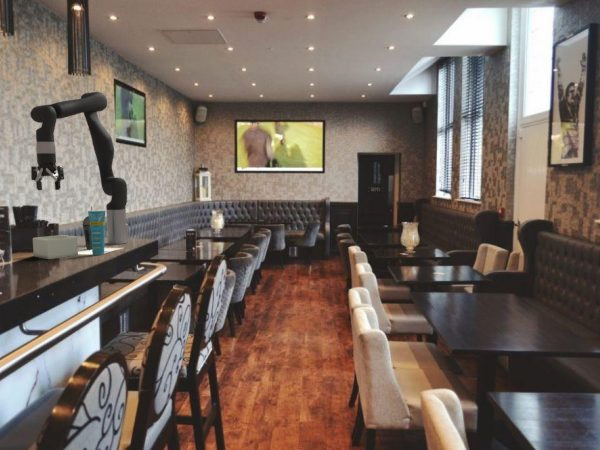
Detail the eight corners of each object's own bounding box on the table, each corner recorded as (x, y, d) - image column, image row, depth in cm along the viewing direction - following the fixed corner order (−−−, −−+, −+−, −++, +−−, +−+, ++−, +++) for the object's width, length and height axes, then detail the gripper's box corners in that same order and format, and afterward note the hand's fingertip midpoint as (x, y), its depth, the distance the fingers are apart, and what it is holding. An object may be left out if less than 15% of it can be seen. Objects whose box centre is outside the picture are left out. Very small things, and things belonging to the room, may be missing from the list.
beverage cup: (79, 249, 254) (77, 206, 252) (92, 247, 260) (90, 205, 258) (90, 250, 250) (88, 207, 248) (103, 248, 257) (101, 206, 255)
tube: (88, 255, 234) (86, 211, 233) (91, 253, 239) (89, 210, 237) (106, 255, 235) (104, 211, 234) (108, 253, 240) (106, 210, 238)
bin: (62, 252, 244) (61, 235, 243) (78, 255, 236) (77, 237, 235) (33, 256, 233) (32, 237, 233) (48, 259, 225) (47, 240, 225)
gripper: (66, 152, 237) (68, 189, 239) (37, 153, 239) (39, 189, 241) (55, 152, 230) (58, 190, 231) (25, 152, 232) (28, 190, 234)
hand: (48, 190), depth 236 cm, fingers open, 8 cm apart
